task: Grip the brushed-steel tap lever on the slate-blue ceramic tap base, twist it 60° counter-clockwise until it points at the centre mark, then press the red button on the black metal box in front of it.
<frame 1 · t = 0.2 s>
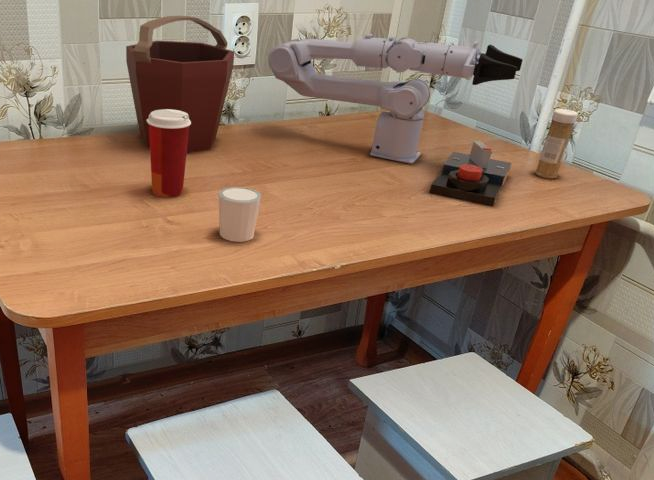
hand: (518, 69, 136), 21 cm above the table, tool horizontal, fingers open, 7 cm apart
white tapered cup: (236, 235, 115), on the table
bucket: (175, 141, 156), on the table
tap lever: (480, 154, 143), point 5 cm above the table, hinge at -60.0°
paper cup: (167, 192, 129), on the table
red button: (469, 173, 135), point 4 cm above the table, slide at 0.1 cm
tap base: (474, 177, 146), on the table
spice jar: (545, 176, 149), on the table
button box: (464, 193, 137), on the table
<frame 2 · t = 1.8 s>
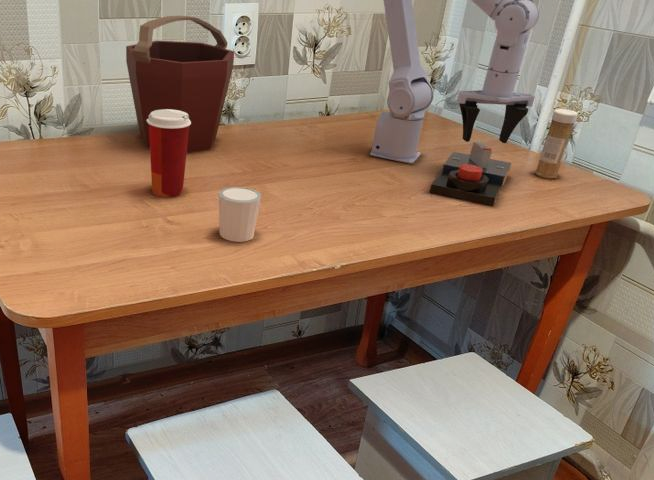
hand: (484, 140, 141), 8 cm above the table, tool pointing down, fingers open, 7 cm apart
nothing on the table moved.
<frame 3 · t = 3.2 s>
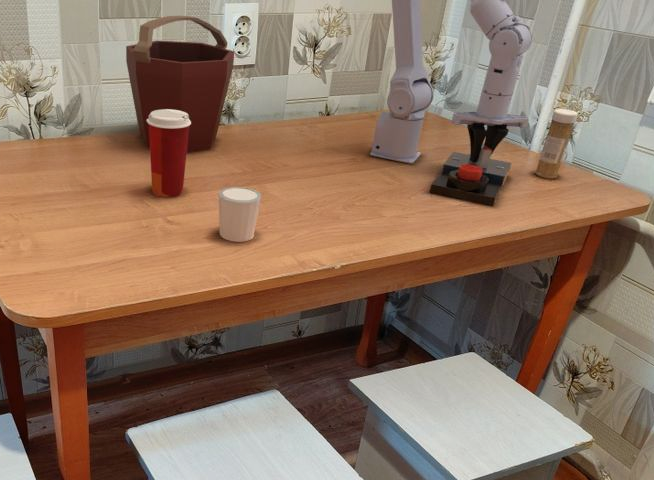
hand: (478, 161, 144), 4 cm above the table, tool pointing down, fingers closed on tap lever, 2 cm apart
tap lever: (480, 154, 143), point 5 cm above the table, hinge at -60.1°, touching gripper
everything else where it was.
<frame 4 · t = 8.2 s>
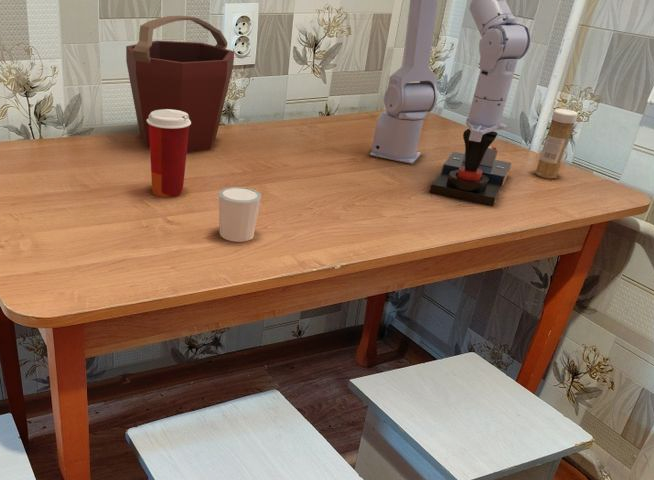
hand: (470, 170, 135), 5 cm above the table, tool pointing down, fingers closed, pressing on red button
tap lever: (480, 154, 143), point 5 cm above the table, hinge at -0.1°
red button: (469, 175, 135), point 4 cm above the table, slide at -0.3 cm, touching gripper
everything else where it was.
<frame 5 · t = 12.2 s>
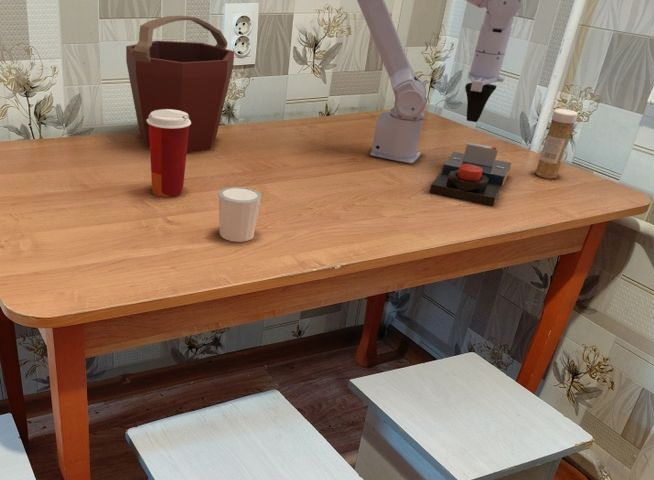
hand: (472, 120, 147), 9 cm above the table, tool pointing down, fingers closed
red button: (469, 173, 135), point 4 cm above the table, slide at 0.1 cm
everything else where it was.
at the end: tap lever at +0° (first picture: -60°); red button pushed in 1.1 cm at the most during the clip, back to where it started at the end; red button slide at 0.1 cm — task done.
